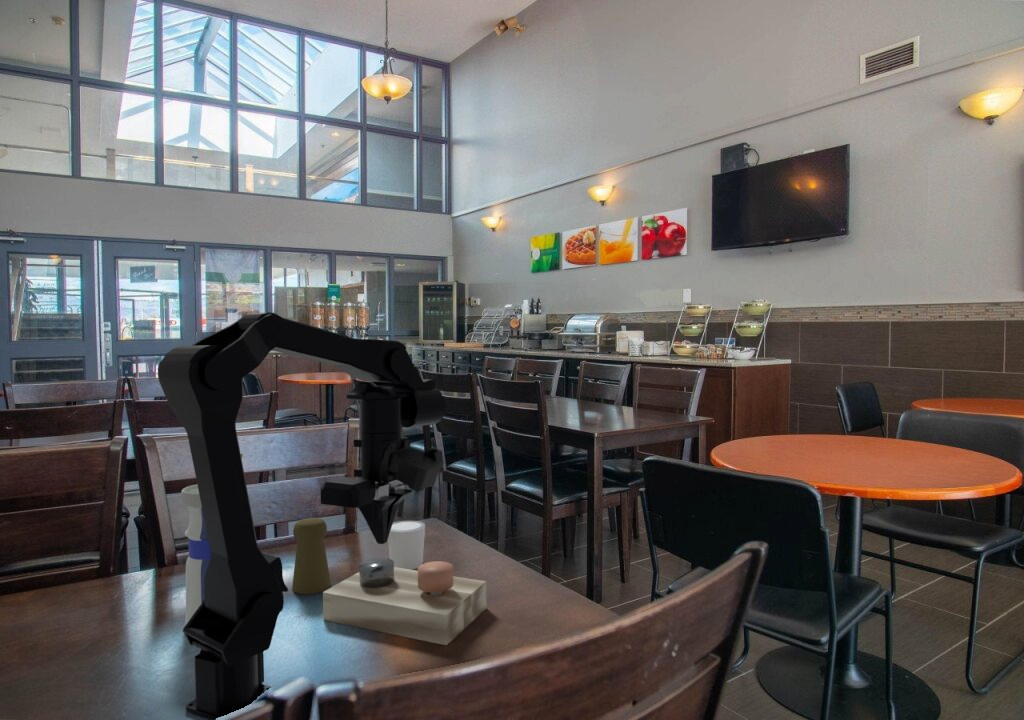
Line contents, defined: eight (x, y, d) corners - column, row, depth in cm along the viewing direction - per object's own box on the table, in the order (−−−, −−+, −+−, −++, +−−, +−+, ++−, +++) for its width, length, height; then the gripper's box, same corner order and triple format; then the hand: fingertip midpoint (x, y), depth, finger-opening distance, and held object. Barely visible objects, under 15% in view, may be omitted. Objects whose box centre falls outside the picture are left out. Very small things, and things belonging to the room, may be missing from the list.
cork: (319, 595, 97) (317, 525, 97) (284, 592, 99) (282, 524, 98) (337, 580, 103) (336, 514, 103) (304, 578, 104) (302, 513, 104)
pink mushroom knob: (442, 621, 85) (442, 576, 85) (411, 616, 87) (410, 571, 87) (460, 607, 90) (459, 564, 89) (430, 601, 92) (429, 559, 91)
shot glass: (382, 561, 112) (381, 523, 112) (419, 555, 115) (419, 517, 115) (392, 574, 106) (391, 533, 105) (431, 567, 109) (430, 528, 108)
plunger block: (446, 645, 81) (445, 615, 81) (323, 619, 89) (322, 592, 89) (486, 608, 92) (486, 581, 92) (373, 588, 100) (373, 563, 100)
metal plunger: (381, 615, 89) (380, 571, 89) (353, 609, 91) (352, 567, 91) (401, 601, 94) (400, 560, 93) (373, 596, 96) (372, 556, 95)
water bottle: (249, 604, 94) (244, 440, 93) (247, 629, 86) (241, 449, 85) (188, 614, 91) (182, 444, 90) (180, 640, 83) (173, 454, 82)
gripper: (389, 444, 74) (389, 573, 75) (465, 426, 91) (465, 532, 92) (316, 438, 79) (317, 560, 79) (401, 422, 96) (402, 523, 96)
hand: (381, 543), depth 87 cm, fingers closed
